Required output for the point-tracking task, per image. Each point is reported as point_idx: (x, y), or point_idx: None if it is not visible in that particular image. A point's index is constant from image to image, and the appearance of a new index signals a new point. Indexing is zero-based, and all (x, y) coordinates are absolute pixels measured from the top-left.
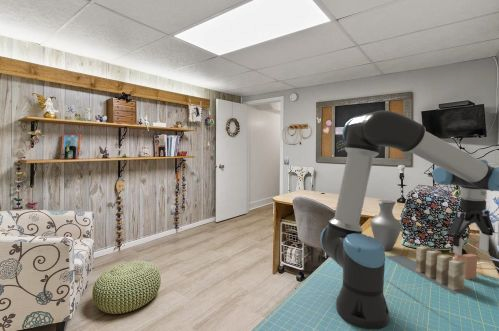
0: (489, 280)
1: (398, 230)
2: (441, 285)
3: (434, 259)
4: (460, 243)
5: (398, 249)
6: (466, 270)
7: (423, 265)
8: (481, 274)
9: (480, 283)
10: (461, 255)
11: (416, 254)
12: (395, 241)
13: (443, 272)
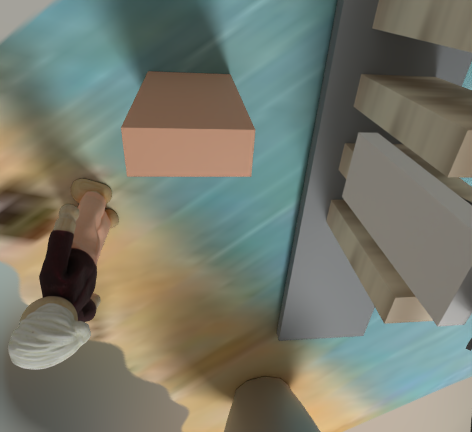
0: (51, 43)
1: None
2: (456, 61)
3: None
4: (457, 199)
5: (214, 380)
6: (238, 95)
7: None
8: (27, 119)
9: (159, 31)
10: (81, 247)
11: None
12: (256, 416)
13: (469, 94)
